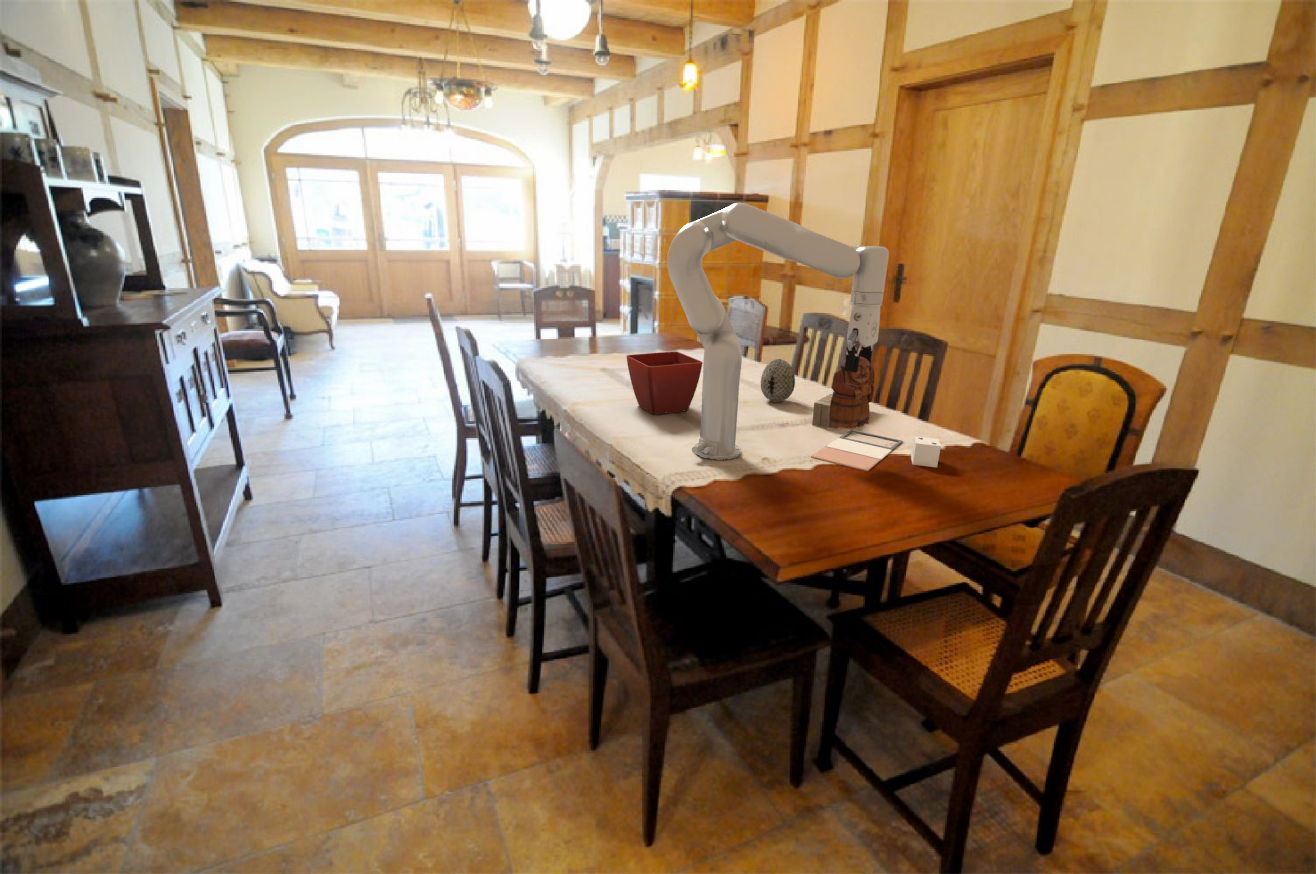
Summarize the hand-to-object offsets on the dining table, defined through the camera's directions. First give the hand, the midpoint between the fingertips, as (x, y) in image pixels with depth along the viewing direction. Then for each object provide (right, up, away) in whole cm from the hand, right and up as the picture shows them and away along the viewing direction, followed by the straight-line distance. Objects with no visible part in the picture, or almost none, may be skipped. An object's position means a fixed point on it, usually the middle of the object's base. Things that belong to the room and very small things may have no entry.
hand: (857, 368), depth 160 cm
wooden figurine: (-1, -14, +5) cm, 15 cm away
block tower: (+8, -11, +45) cm, 47 cm away
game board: (+5, -21, +16) cm, 27 cm away
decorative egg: (-9, -5, +60) cm, 61 cm away
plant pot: (-49, -8, +49) cm, 70 cm away
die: (+20, -24, +8) cm, 32 cm away
